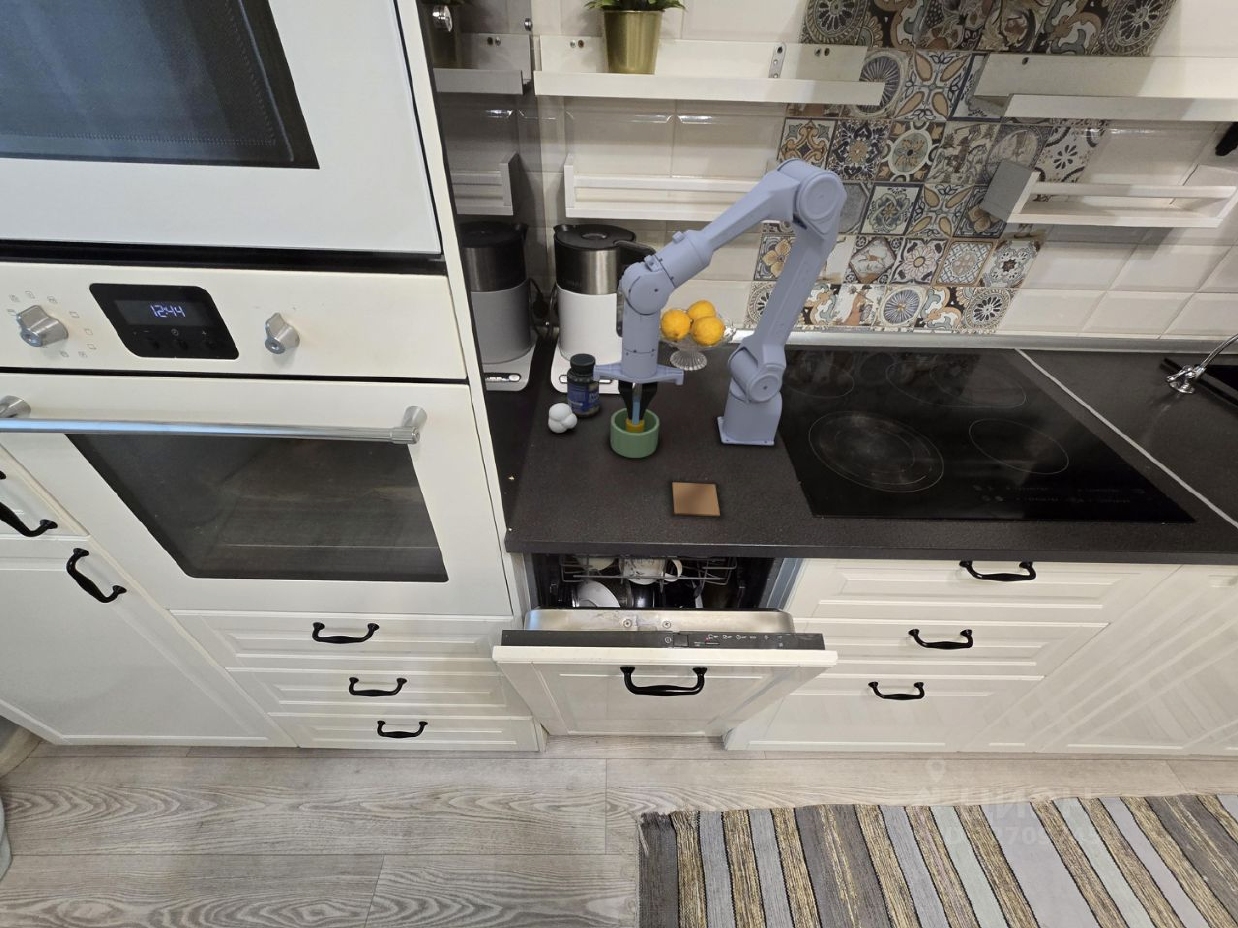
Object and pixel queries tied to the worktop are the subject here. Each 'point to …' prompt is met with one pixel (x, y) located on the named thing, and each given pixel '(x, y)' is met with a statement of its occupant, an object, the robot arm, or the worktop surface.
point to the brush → (635, 418)
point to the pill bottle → (582, 386)
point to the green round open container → (634, 435)
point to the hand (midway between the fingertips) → (635, 416)
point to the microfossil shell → (561, 418)
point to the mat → (695, 499)
